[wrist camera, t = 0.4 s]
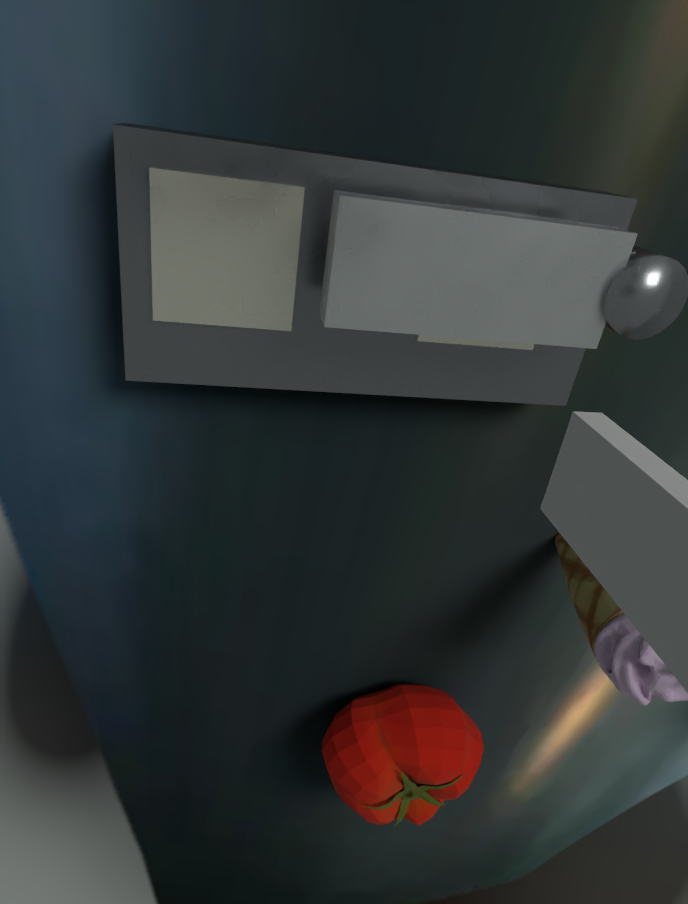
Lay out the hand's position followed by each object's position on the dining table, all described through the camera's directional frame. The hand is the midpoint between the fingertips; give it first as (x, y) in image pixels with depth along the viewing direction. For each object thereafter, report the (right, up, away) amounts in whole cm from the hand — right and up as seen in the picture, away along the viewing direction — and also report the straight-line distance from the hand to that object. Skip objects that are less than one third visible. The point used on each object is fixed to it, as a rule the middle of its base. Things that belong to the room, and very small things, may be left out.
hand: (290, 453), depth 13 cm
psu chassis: (+3, +10, +21) cm, 23 cm away
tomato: (+5, -24, +41) cm, 48 cm away
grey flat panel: (+9, +9, +16) cm, 20 cm away
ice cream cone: (+19, -7, +34) cm, 39 cm away
